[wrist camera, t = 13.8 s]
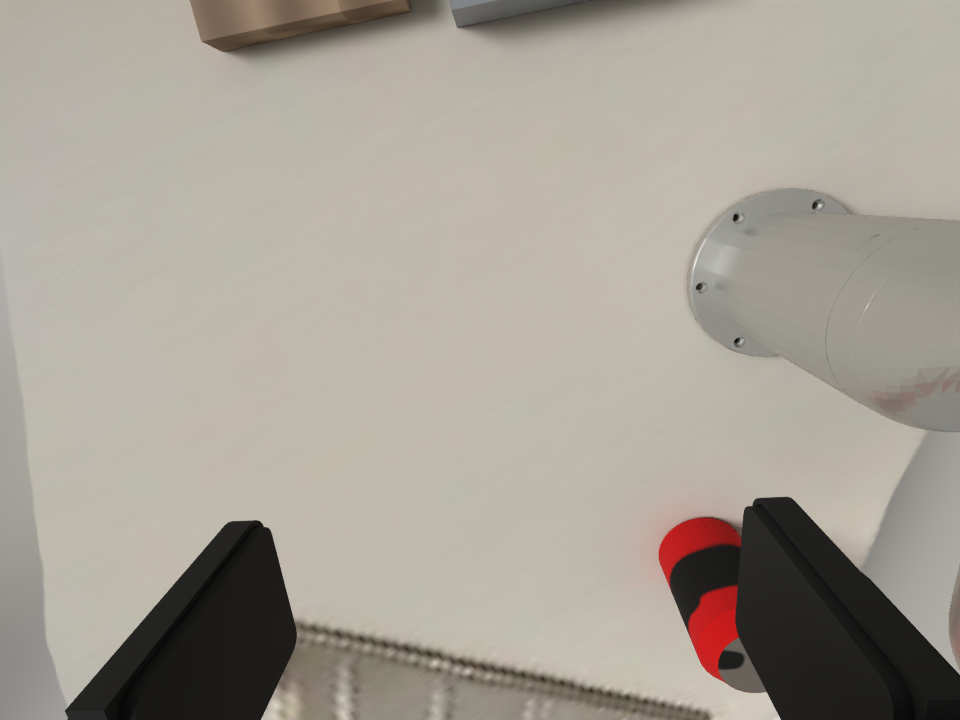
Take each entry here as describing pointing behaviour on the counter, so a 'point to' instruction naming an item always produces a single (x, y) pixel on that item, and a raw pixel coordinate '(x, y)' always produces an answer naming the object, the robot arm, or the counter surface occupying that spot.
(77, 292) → the counter surface
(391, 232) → the counter surface
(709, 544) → the soda can
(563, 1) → the slate tray
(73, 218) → the counter surface
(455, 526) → the counter surface
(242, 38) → the block
